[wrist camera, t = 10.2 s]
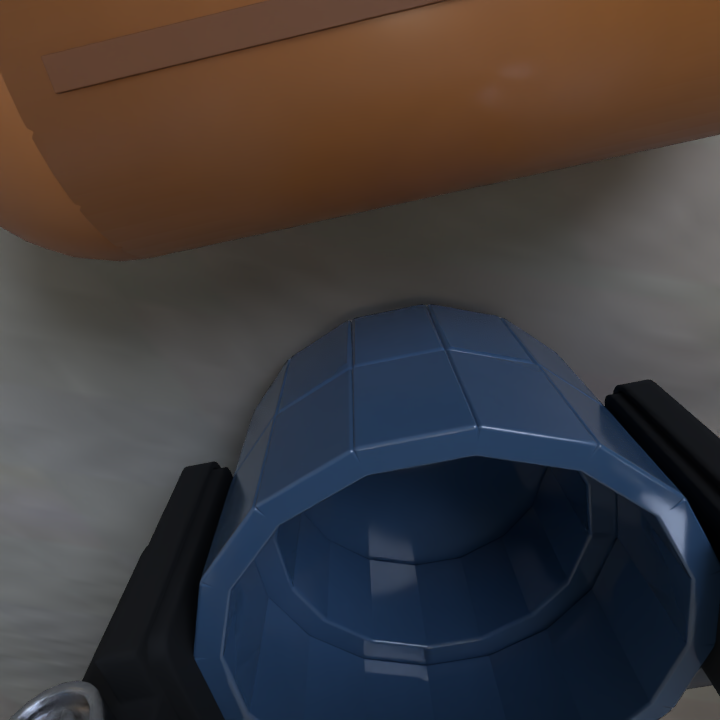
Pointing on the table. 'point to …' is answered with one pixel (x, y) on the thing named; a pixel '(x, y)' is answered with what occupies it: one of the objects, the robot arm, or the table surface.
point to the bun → (322, 107)
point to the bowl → (449, 540)
